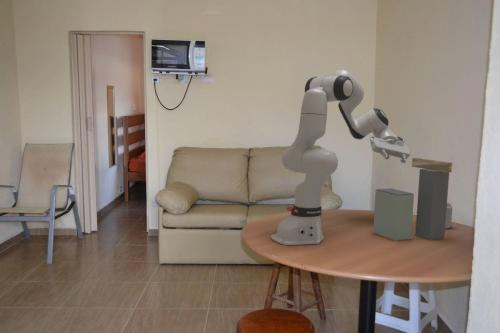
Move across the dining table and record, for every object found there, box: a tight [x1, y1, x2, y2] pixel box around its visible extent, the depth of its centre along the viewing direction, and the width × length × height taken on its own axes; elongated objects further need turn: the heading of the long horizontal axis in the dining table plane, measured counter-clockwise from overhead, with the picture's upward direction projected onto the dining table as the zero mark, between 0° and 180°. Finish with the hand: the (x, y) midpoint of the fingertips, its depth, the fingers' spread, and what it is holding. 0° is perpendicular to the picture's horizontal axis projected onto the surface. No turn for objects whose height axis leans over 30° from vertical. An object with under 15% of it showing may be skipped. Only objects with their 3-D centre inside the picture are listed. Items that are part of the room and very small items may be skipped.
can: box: [445, 202, 453, 230], centre depth 213 cm, size 8×8×12 cm
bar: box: [411, 157, 453, 173], centre depth 195 cm, size 2×20×4 cm, turn 25°
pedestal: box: [415, 168, 450, 241], centre depth 195 cm, size 9×8×30 cm
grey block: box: [372, 187, 415, 242], centre depth 197 cm, size 9×14×20 cm, turn 25°
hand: (395, 160), depth 208 cm, fingers open, 8 cm apart
